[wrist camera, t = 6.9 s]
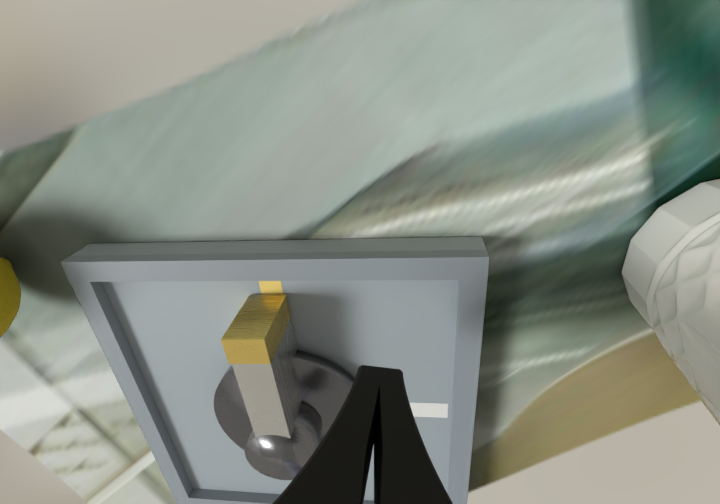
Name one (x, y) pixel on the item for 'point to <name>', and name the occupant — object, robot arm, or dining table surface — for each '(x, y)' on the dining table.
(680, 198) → the white cup
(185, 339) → the dial plate
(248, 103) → the dining table surface
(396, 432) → the robot arm
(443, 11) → the dining table surface
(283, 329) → the dial
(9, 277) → the lemon
